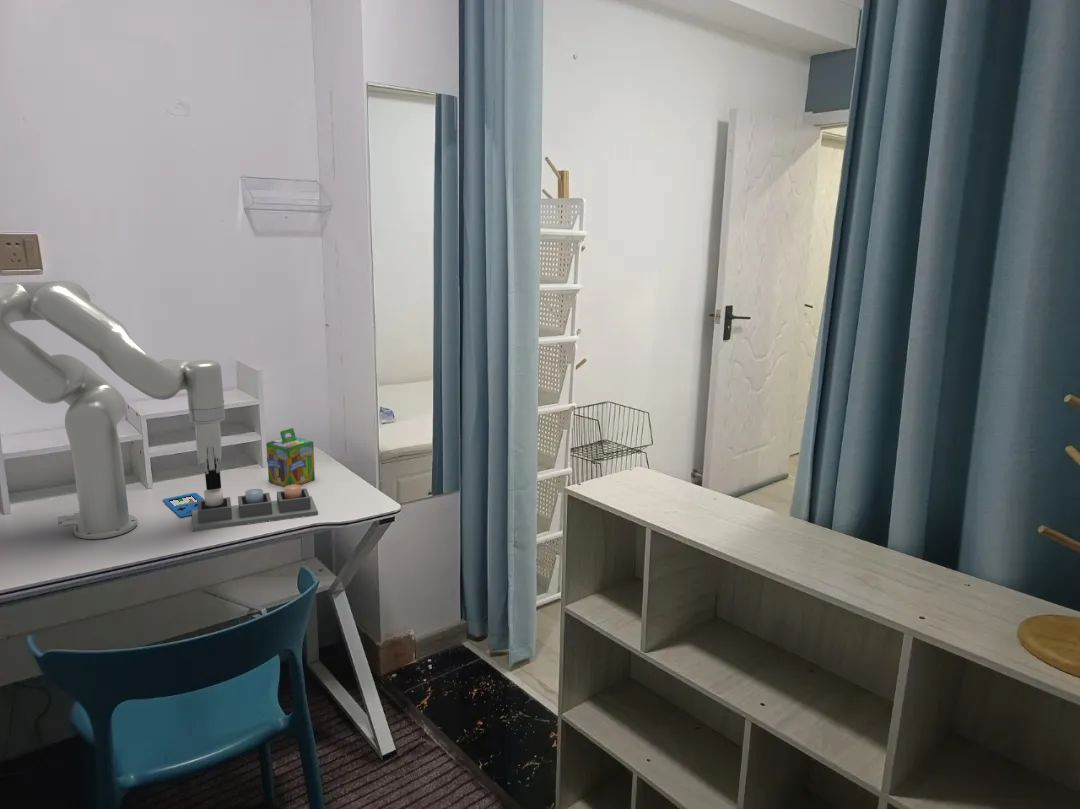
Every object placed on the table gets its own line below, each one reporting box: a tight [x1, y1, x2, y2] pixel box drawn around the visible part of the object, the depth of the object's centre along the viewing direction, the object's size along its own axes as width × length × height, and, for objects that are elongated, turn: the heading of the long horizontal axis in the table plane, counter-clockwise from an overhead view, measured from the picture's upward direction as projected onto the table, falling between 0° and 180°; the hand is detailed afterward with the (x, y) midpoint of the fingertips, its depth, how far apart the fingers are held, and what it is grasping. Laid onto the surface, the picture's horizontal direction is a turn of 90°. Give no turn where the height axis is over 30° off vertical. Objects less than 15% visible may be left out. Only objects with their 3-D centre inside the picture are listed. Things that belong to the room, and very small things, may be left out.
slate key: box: [244, 488, 264, 504], centre depth 176 cm, size 4×4×3 cm
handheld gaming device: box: [162, 492, 205, 519], centre depth 181 cm, size 8×1×15 cm
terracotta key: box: [283, 484, 302, 500], centre depth 180 cm, size 4×4×3 cm
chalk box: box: [265, 427, 316, 487], centre depth 199 cm, size 9×9×15 cm
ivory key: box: [203, 487, 224, 506], centre depth 172 cm, size 4×4×3 cm
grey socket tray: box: [191, 487, 319, 532], centre depth 176 cm, size 28×11×4 cm, turn 115°
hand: (213, 488), depth 171 cm, fingers closed
